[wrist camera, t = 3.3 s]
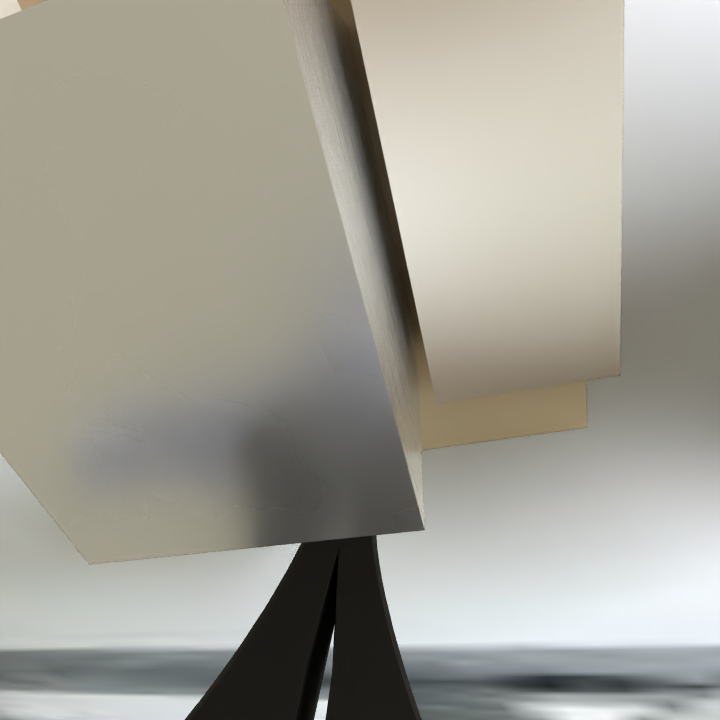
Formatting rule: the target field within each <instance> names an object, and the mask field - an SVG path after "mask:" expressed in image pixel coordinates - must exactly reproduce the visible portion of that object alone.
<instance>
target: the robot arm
mask: <svg viewBox="0 0 720 720" xmlns="http://www.w3.org/2000/svg"><path fill="white" fill-rule="evenodd" d="M334 624H335V627H334ZM333 629H334V647H333V667H332V678H331V685H330V692H329V699H328V706H327V713H326V720H422V719H421V717H420V714H419V711H418V708H417V705H416V702H415V699H414V696H413V693H412V690H411V687H410V684H409V681H408V678H407V675H406V671H405V668H404V665H403V661H402V658H401V655H400V651H399V648H398V644H397V641H396V637H395V633H394V630H393V626H392V622H391V617H390V613H389V609H388V605H387V601H386V597H385V592H384V587H383V582H382V577H381V571H380V565H379V558H378V550H377V539H376V535H372V536H362V537H352V538H342V539H333V540H323V541H313V542H303V543H301V545H300V547H299V549H298V551H297V553H296V555H295V557H294V558H293V560H292V562H291V564H290V566H289V568H288V570H287V571H286V573H285V575H284V577H283V578H282V580H281V582H280V583H279V585H278V587H277V589H276V590H275V592H274V594H273V595H272V597H271V599H270V601H269V602H268V604H267V605H266V607H265V609H264V610H263V612H262V613H261V615H260V616H259V618H258V619H257V621H256V622H255V624H254V625H253V627H252V629H251V630H250V632H249V633H248V635H247V636H246V638H245V639H244V641H243V642H242V644H241V645H240V647H239V648H238V650H237V651H236V652H235V654H234V655H233V657H232V658H231V659H230V661H229V662H228V664H227V665H226V666H225V668H224V669H223V671H222V672H221V673H220V675H219V676H218V677H217V679H216V680H215V681H214V683H213V684H212V685H211V687H210V688H209V689H208V691H207V692H206V693H205V695H204V696H203V697H202V699H201V700H200V701H199V702H198V704H197V705H196V706H195V707H194V709H193V710H192V711H191V712H190V714H189V715H188V716H187V717H186V719H185V720H314V717H315V712H316V708H317V703H318V698H319V694H320V689H321V684H322V680H323V675H324V671H325V666H326V661H327V657H328V652H329V647H330V643H331V638H332V634H333Z"/></svg>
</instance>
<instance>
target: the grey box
mask: <svg viewBox="0 0 720 720" xmlns="http://www.w3.org/2000/svg"><path fill="white" fill-rule="evenodd" d="M0 453H1V454H2V455H3V457H4V458H5V459H6V460H7V462H8V463H9V464H10V465H11V467H12V468H13V469H14V470H15V472H16V473H17V474H18V475H19V477H20V478H21V479H22V480H23V482H24V483H25V484H26V485H27V487H28V488H29V489H30V491H31V492H32V493H33V494H34V496H35V497H36V498H37V499H38V501H39V502H40V503H41V504H42V506H43V507H44V508H45V509H46V511H47V512H48V513H49V514H50V516H51V517H52V518H53V519H54V521H55V522H56V523H57V525H58V526H59V527H60V528H61V530H62V531H63V532H64V533H65V535H66V536H67V537H68V538H69V540H70V541H71V542H72V543H73V545H74V546H75V547H76V548H77V550H78V551H79V552H80V553H81V555H82V556H83V557H84V559H85V560H86V561H87V562H88V564H99V563H109V562H118V561H128V560H138V559H148V558H157V557H167V556H177V555H187V554H196V553H206V552H216V551H226V550H235V549H245V548H255V547H265V546H274V545H284V544H294V543H303V542H313V541H323V540H333V539H342V538H352V537H362V536H372V535H381V534H391V533H401V532H411V531H420V530H425V525H424V500H423V476H422V451H421V427H420V402H419V378H418V353H417V343H416V339H415V334H414V330H413V325H412V320H411V316H410V311H409V307H408V302H407V298H406V293H405V289H404V284H403V280H402V275H401V271H400V266H399V262H398V257H397V253H396V248H395V243H394V239H393V234H392V230H391V225H390V221H389V216H388V212H387V207H386V203H385V198H384V194H383V189H382V185H381V180H380V176H379V171H378V166H377V162H376V157H375V153H374V148H373V144H372V139H371V135H370V130H369V126H368V121H367V117H366V112H365V108H364V103H363V98H362V94H361V89H360V85H359V80H358V76H357V71H356V67H355V62H354V58H353V53H352V49H351V44H350V40H349V35H348V31H347V26H346V23H345V21H344V20H343V19H342V18H341V16H340V15H339V14H338V13H337V11H336V10H335V9H334V8H333V6H332V5H331V4H330V3H329V1H328V0H47V1H44V2H42V3H39V4H37V5H34V6H32V7H29V8H27V9H24V10H22V11H19V12H17V13H14V14H11V15H9V16H6V17H4V18H1V19H0Z"/></svg>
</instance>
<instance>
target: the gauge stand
mask: <svg viewBox="0 0 720 720" xmlns="http://www.w3.org/2000/svg"><path fill="white" fill-rule="evenodd" d="M44 1H47V0H0V19H1V18H4V17H6V16H9V15H11V14H14V13H17V12H19V11H22V10H24V9H27V8H29V7H32V6H34V5H37V4H39V3H42V2H44ZM328 1H329V3H330V4H331V5H332V6H333V8H334V9H335V10H336V11H337V13H338V14H339V15H340V16H341V18H342V19H343V20H344V21H345V23H346V26H347V31H348V35H349V40H350V44H351V49H352V53H353V58H354V62H355V67H356V71H357V76H358V80H359V85H360V89H361V94H362V98H363V103H364V108H365V112H366V117H367V121H368V126H369V130H370V135H371V139H372V144H373V148H374V153H375V157H376V162H377V166H378V171H379V176H380V180H381V185H382V189H383V194H384V198H385V203H386V207H387V212H388V216H389V221H390V225H391V230H392V234H393V239H394V243H395V248H396V253H397V257H398V262H399V266H400V271H401V275H402V280H403V284H404V289H405V293H406V298H407V302H408V307H409V311H410V316H411V320H412V325H413V330H414V334H415V339H416V343H417V353H418V378H419V402H420V427H421V450H427V449H434V448H441V447H449V446H456V445H463V444H470V443H478V442H485V441H492V440H500V439H507V438H514V437H521V436H529V435H536V434H543V433H551V432H558V431H565V430H572V429H580V428H587V399H586V381H587V380H593V379H600V378H606V377H613V376H619V375H620V330H621V244H622V158H623V72H624V0H328Z"/></svg>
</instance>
